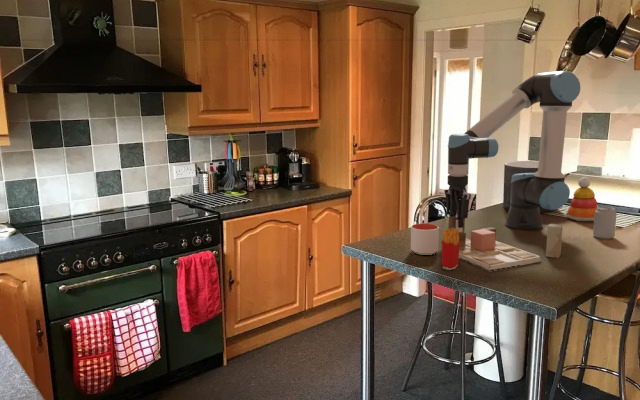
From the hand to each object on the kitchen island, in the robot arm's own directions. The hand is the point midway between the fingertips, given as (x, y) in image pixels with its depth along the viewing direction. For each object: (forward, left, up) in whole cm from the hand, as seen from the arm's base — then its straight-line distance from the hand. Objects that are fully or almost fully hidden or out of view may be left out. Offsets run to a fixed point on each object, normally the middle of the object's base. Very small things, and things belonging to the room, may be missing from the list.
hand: (456, 234), depth 201 cm
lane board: (+20, 0, -4) cm, 20 cm away
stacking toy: (-4, +73, -4) cm, 73 cm away
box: (+29, +20, -4) cm, 35 cm away
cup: (+5, -18, -4) cm, 19 cm away
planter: (-33, +70, -4) cm, 78 cm away
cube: (+15, 0, -1) cm, 15 cm away
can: (+21, +55, -4) cm, 59 cm away
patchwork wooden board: (+19, 0, -3) cm, 20 cm away
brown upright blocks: (+10, 0, -2) cm, 10 cm away
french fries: (+22, -19, -4) cm, 30 cm away
